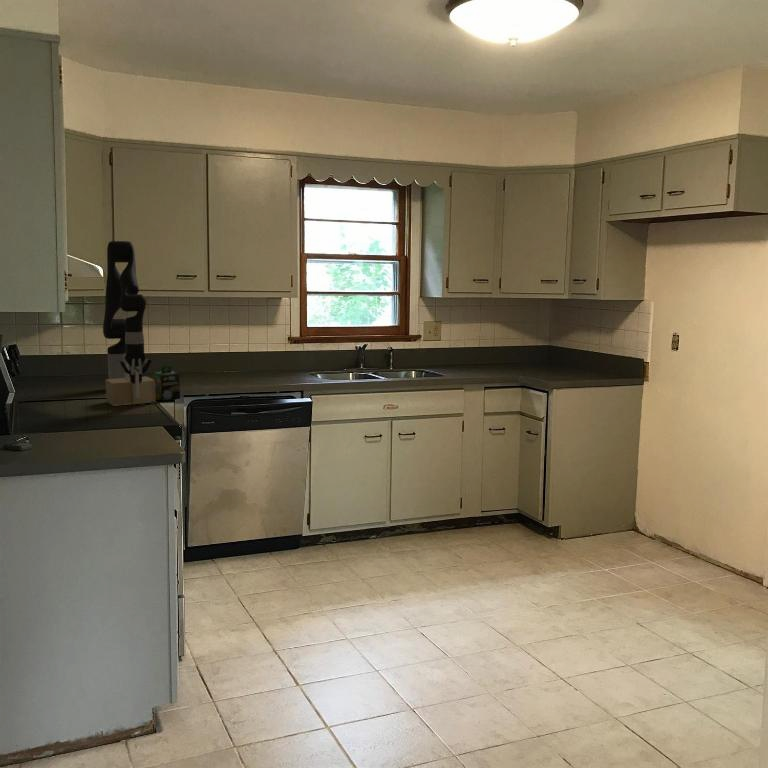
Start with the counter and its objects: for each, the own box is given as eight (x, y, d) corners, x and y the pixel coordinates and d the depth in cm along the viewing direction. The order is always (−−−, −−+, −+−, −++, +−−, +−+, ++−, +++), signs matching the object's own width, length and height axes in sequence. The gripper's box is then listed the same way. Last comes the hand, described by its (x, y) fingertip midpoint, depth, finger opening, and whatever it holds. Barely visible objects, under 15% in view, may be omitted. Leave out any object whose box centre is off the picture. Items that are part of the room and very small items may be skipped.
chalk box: (172, 395, 377) (171, 363, 375) (181, 398, 370) (180, 365, 368) (153, 397, 371) (151, 364, 369) (161, 400, 364) (160, 367, 362)
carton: (106, 402, 359) (105, 379, 357) (147, 398, 368) (147, 376, 367) (113, 406, 349) (112, 383, 347) (155, 403, 358) (154, 379, 357)
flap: (132, 404, 352) (131, 370, 350) (151, 403, 357) (150, 369, 354) (136, 406, 348) (134, 372, 346) (155, 405, 352) (153, 370, 350)
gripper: (148, 340, 353) (150, 380, 356) (115, 342, 346) (117, 383, 348) (153, 342, 346) (155, 383, 349) (120, 344, 339) (121, 385, 342)
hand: (136, 382), depth 349 cm, fingers closed
